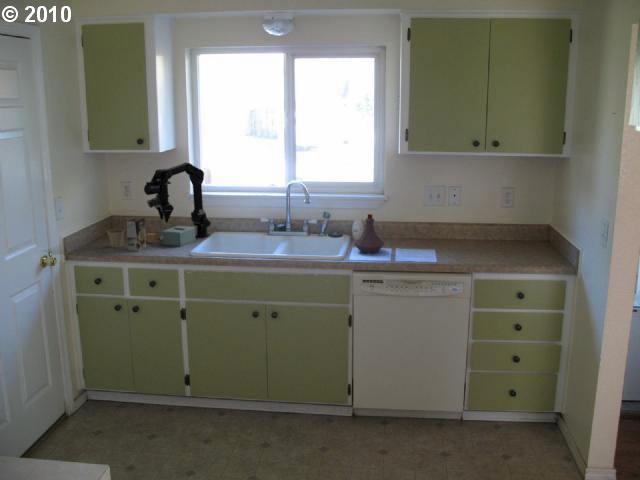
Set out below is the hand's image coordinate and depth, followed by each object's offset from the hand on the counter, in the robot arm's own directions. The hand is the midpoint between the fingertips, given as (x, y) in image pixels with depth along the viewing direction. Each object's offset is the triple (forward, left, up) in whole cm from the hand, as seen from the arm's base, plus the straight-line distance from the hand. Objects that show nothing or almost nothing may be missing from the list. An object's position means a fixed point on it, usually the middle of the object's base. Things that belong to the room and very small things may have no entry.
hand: (164, 221), depth 358 cm
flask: (-26, +110, -14) cm, 114 cm away
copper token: (-2, -10, -14) cm, 17 cm away
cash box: (-7, +5, -13) cm, 16 cm away
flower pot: (+13, -22, -14) cm, 29 cm away
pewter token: (-13, -8, -14) cm, 21 cm away
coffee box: (+14, -8, -14) cm, 21 cm away
